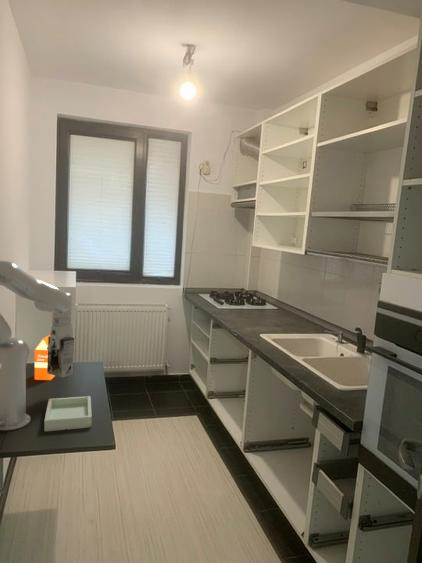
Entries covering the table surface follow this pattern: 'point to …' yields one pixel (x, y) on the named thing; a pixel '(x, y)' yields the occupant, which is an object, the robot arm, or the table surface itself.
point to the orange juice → (42, 361)
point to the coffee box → (62, 358)
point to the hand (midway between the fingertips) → (60, 362)
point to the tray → (68, 413)
